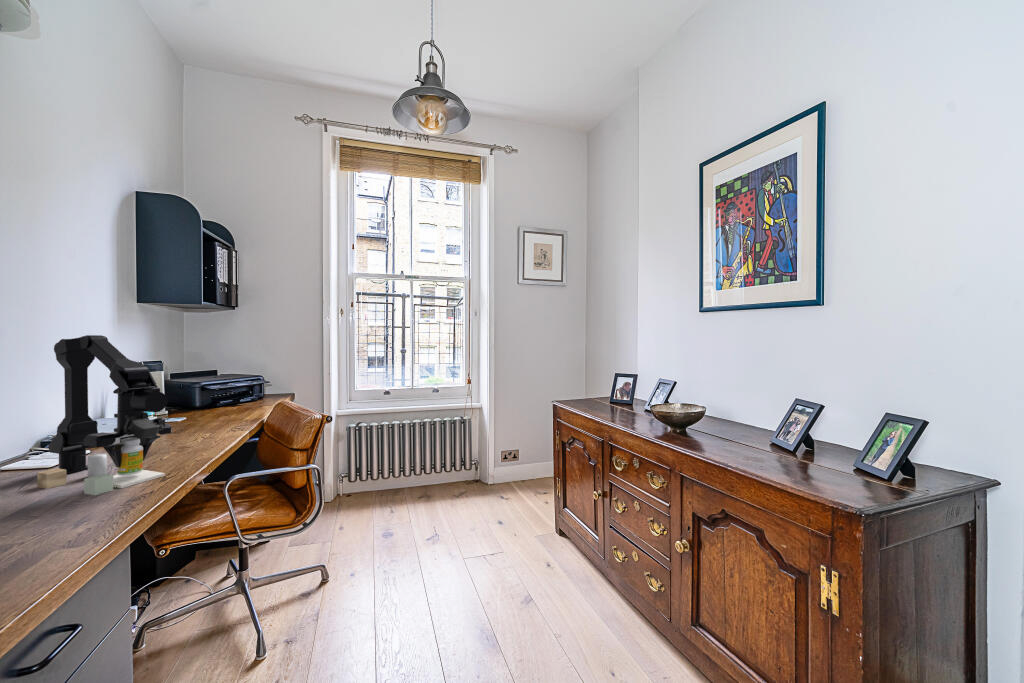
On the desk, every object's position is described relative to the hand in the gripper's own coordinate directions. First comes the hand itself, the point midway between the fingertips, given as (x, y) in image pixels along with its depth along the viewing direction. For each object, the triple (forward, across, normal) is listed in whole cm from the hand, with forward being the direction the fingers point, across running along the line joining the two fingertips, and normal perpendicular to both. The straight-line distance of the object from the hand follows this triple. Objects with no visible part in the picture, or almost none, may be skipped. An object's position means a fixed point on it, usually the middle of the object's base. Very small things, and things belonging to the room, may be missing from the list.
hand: (130, 464), depth 121 cm
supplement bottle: (+3, 0, 0) cm, 3 cm away
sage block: (+4, -9, -3) cm, 11 cm away
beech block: (+5, -10, +14) cm, 18 cm away
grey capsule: (+4, -1, +12) cm, 13 cm away
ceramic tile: (+4, 0, 0) cm, 4 cm away
